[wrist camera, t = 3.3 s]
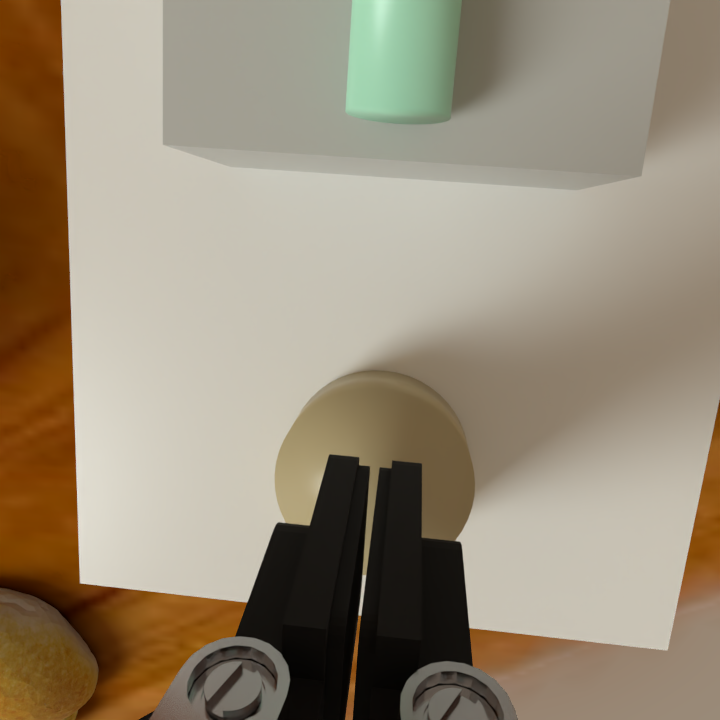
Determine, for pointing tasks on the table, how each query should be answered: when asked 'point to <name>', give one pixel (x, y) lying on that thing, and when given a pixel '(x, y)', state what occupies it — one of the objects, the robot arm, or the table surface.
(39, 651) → the bread roll
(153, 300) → the levelling plate
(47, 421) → the table surface
